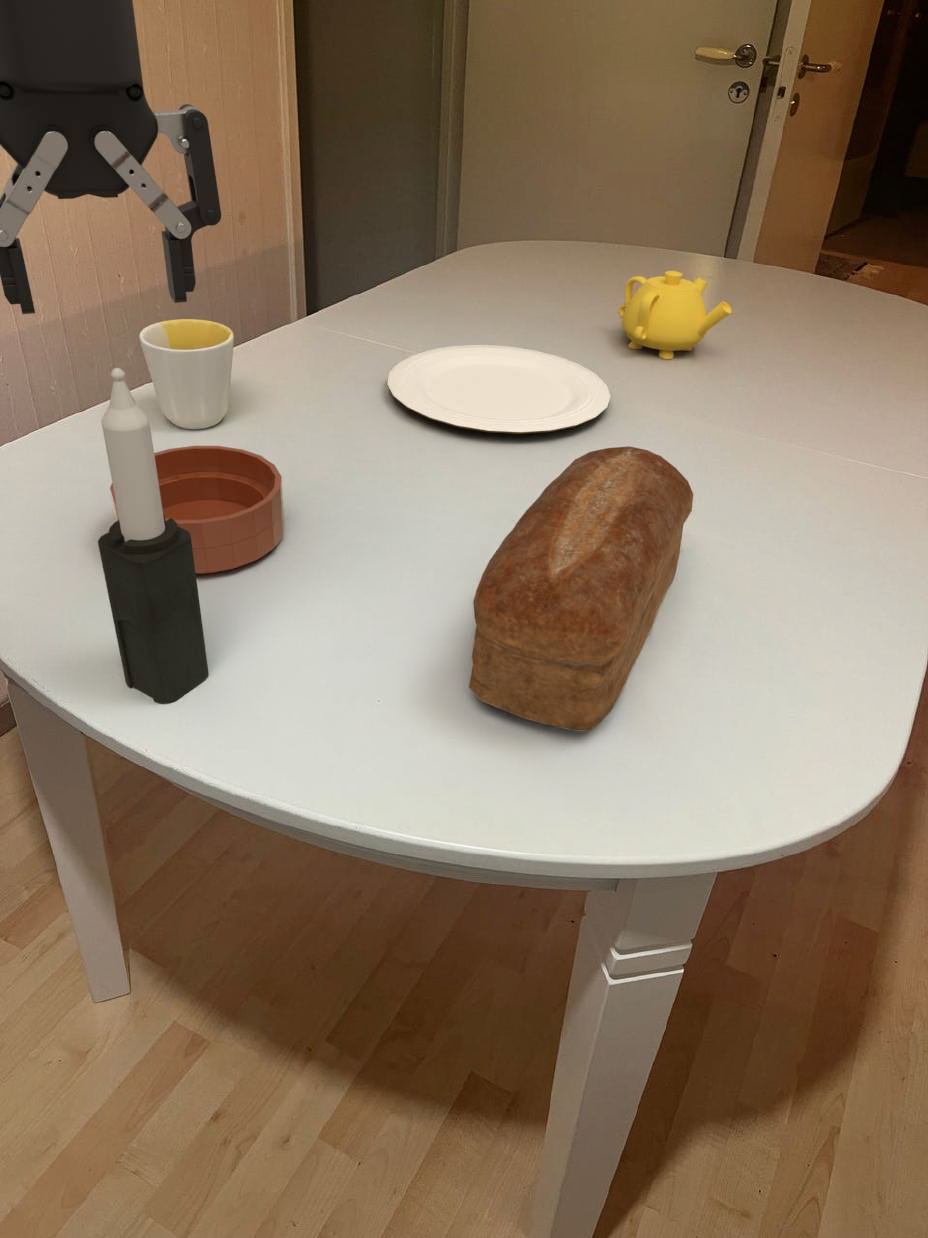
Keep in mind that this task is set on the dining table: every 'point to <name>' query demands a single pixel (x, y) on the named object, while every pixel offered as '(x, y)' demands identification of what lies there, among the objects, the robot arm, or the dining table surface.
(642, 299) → the teapot
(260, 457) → the bowl
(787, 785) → the dining table surface
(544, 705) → the bread
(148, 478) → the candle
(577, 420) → the plate
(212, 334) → the mug
